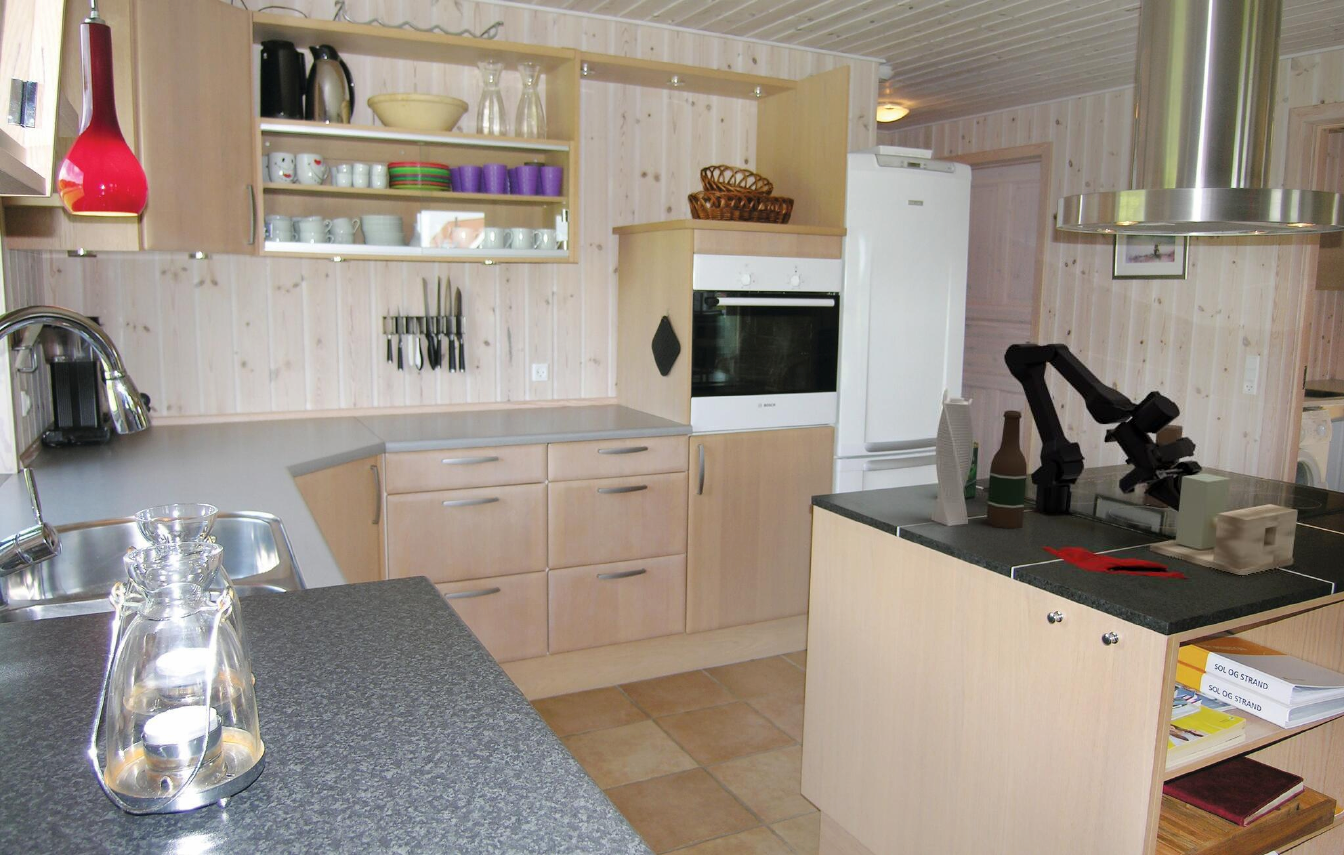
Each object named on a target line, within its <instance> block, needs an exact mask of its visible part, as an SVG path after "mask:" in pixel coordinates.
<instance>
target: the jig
mask: <svg viewBox="0 0 1344 855" xmlns="http://www.w3.org/2000/svg"><path fill="white" fill-rule="evenodd" d="M1298 512H1299V511H1298V509H1293V508H1289V507H1285V506H1279V505H1275V504H1270V503H1269V504H1265V505H1258V506H1254V507H1253V506H1252V507H1246V508H1241V509H1236V510H1231V511H1227V512H1224V513H1218V521H1217V530H1216V539H1215V547H1211V548H1206V549H1202V550H1200V549H1196V548H1192V547H1189V546H1185V545H1181V544H1178V543H1176V539H1172V540H1167V541H1163V542H1162V541H1161V542H1157V543H1151V544H1150V547H1149V551H1150V552H1153V553H1157V554H1161V555H1163V556H1168V557H1171V556H1172V558H1174V557H1175V558H1174V559H1178V558H1179V560H1181V559H1182V561H1185V560H1186V562H1188V563H1192V564H1196V565H1200V566H1203V567H1206V568H1209V567H1212V568H1211V569H1213V568H1215V569H1214V570H1216V569H1219V570H1218V571H1220V570H1222V571H1221V572H1223V571H1227V572H1230V573H1234V574H1237V575H1247V576H1249V575H1248V574H1251V573H1255V574H1257V573H1256V572H1259V573H1261V572H1260V571H1263V572H1266V571H1265V570H1268V569H1272V570H1275V569H1274V568H1276V569H1278V568H1277V567H1280V568H1284V566H1285V567H1288V566H1292V564H1293V565H1294V557H1293V553H1294V552H1293V551H1294V543H1295V535H1296V529H1297V528H1296V527H1297V522H1298V521H1297V519H1298ZM1268 571H1269V570H1268ZM1227 572H1226V573H1227ZM1230 573H1229V574H1230ZM1234 574H1233V575H1234ZM1237 575H1236V576H1237ZM1251 575H1252V574H1251Z"/></svg>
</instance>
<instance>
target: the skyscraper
mask: <svg viewBox="0 0 1344 855" xmlns="http://www.w3.org/2000/svg"><path fill="white" fill-rule="evenodd" d="M942 394H943V395H942V402H941V405H942V409H941V413H940V418H939V422H938V425H937V426H938V427H937V432H936V433H937V434H936V440H935V466H936V467H935V468H936V477H937V484H938V493H937V496H936V500H935V504H934V508H933V512H932V516H931V521H935V522H937V523H939V524H942V525H944V526H947V527H950V526H960V525H968V524H969V519H968V513H967V505H966V499H965V498H964V492H963V490H964V487H965V484H966V481H967V478H968V475H969V471H970V467H971V462H972V456H973V448H974V442H975V440H974V439H975V437H974V436H975V435H974V434H975V432H974V430H975V429H974V420H973V412H972V404H973V403H974V402H973V401H974V400H973V398H970V399H969V400H968V401H965V398H964V397H956V396H955V397H953V396H952V397H950V398H949V399H948V396H949V395H948V394H949V390H948V388H945V389H944V391H943V393H942Z"/></svg>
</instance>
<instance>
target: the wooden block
mask: <svg viewBox="0 0 1344 855" xmlns="http://www.w3.org/2000/svg"><path fill="white" fill-rule="evenodd" d="M1183 429H1184V427H1183V426H1182V425H1178V424H1177V425H1176V424H1168V425H1167V426H1166V427H1165V428H1164V429H1162V430H1161V431H1160V432H1159V433H1157V434H1155V441H1154V443H1162V444H1163V445H1166V444H1169V443H1173V442H1176V439H1181V438H1182V437H1183ZM1177 462H1178V463H1179V462H1180V459H1177ZM1178 463H1176V464H1175V465H1174V466H1176V465H1177V464H1178ZM1174 466H1171V469H1172V468H1173V467H1174ZM1144 488H1145V489H1144V492H1145V491H1146V490H1147V489H1148V487H1147V484H1146V485H1145V487H1144ZM1143 504H1144V505H1145V504H1149V505H1153V506H1152V507H1155V506H1159V507H1158V508H1162V507H1163V509H1165V508H1166V507H1169V506H1168V505H1166V504H1164V503H1162V502H1161V501H1159V500H1157V499H1155V498H1153V497H1151V496H1149V495H1145V494H1144V498H1143ZM1149 505H1148V506H1149Z"/></svg>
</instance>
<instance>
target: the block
mask: <svg viewBox="0 0 1344 855" xmlns="http://www.w3.org/2000/svg"><path fill="white" fill-rule="evenodd" d="M1230 483H1231V478H1230V477H1225V476H1224V477H1223V476H1219V475H1214V474H1209V473H1198V474H1196V475H1190V476H1183V477H1182V485H1181V495H1180V504H1179V512H1178V516H1177V524H1176V536H1175V540H1176V543H1178V544H1181V545H1185V546H1189V547H1192V548H1196V549H1200V550H1202V549H1206V548H1211V547H1215V539H1216V530H1217V521H1218V513H1224V512H1228V505H1229V504H1228V502H1229V495H1230V494H1229V493H1230V486H1231V484H1230Z"/></svg>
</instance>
